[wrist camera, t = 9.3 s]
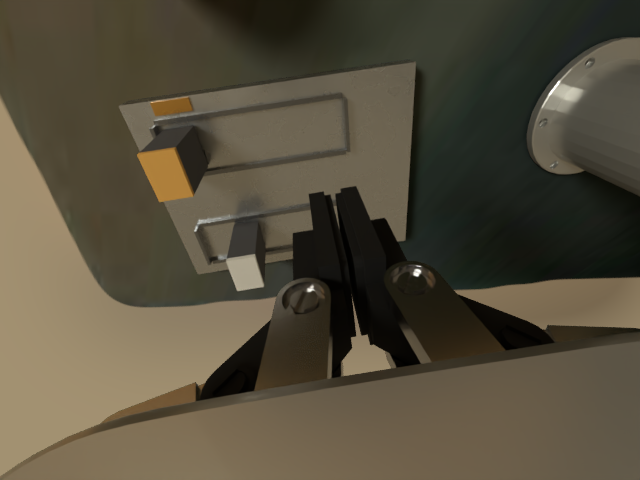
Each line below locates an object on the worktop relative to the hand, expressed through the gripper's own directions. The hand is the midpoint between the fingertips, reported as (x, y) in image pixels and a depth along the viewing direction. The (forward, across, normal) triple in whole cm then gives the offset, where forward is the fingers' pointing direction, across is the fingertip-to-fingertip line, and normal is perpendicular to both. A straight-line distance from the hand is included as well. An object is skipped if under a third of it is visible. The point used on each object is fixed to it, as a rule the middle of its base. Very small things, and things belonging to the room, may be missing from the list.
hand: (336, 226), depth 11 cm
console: (+20, +3, +6) cm, 21 cm away
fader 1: (+18, +11, +1) cm, 21 cm away
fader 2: (+18, +8, +11) cm, 23 cm away
